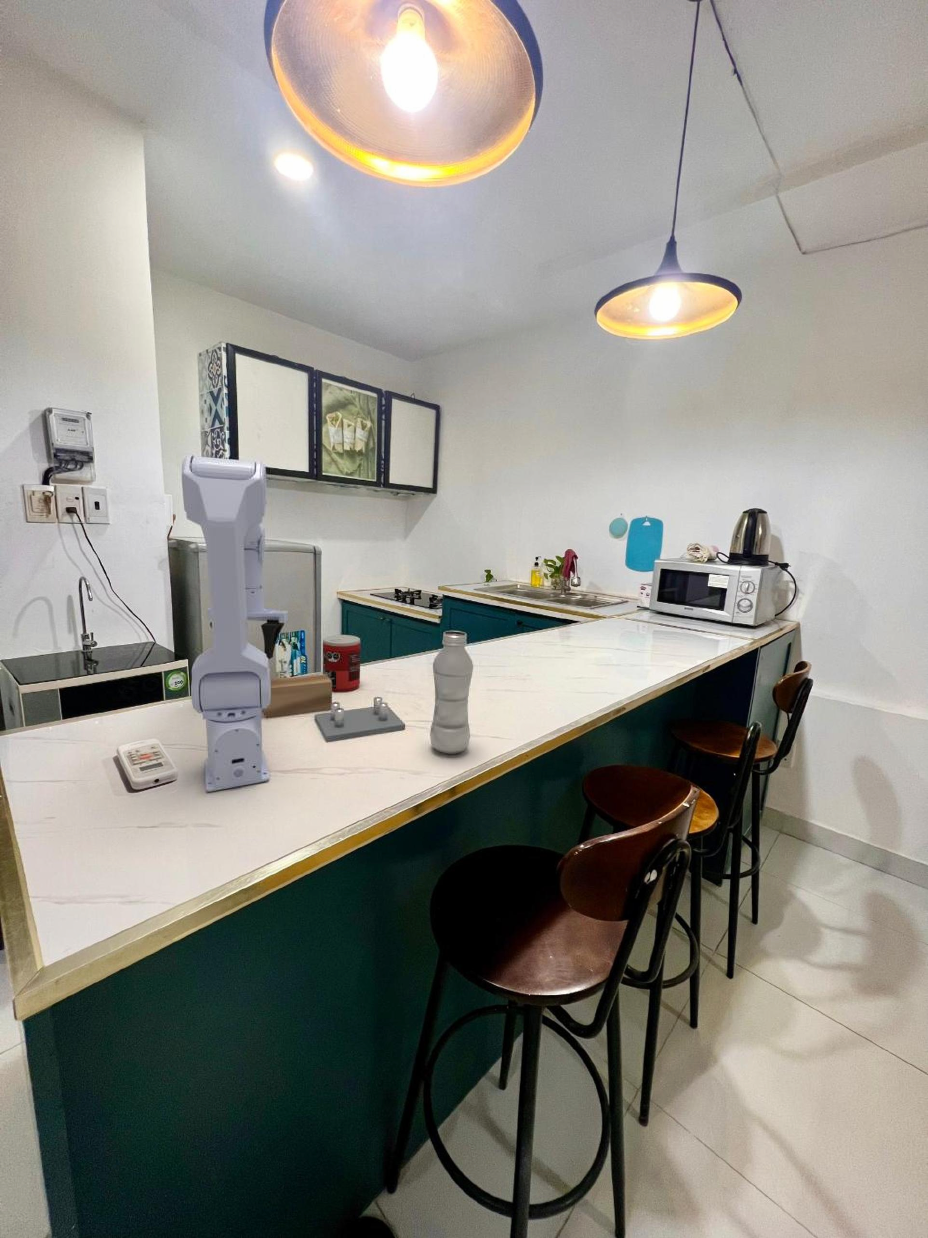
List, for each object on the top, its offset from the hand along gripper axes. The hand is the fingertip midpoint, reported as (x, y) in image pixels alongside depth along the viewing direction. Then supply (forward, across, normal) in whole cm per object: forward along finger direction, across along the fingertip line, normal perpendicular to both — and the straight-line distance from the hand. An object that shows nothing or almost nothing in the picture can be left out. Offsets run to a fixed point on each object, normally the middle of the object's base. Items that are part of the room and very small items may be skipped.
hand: (249, 657), depth 93 cm
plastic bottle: (+10, -40, +14) cm, 43 cm away
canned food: (+10, -14, -13) cm, 22 cm away
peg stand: (+10, -23, +6) cm, 25 cm away
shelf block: (+10, -10, +1) cm, 14 cm away
